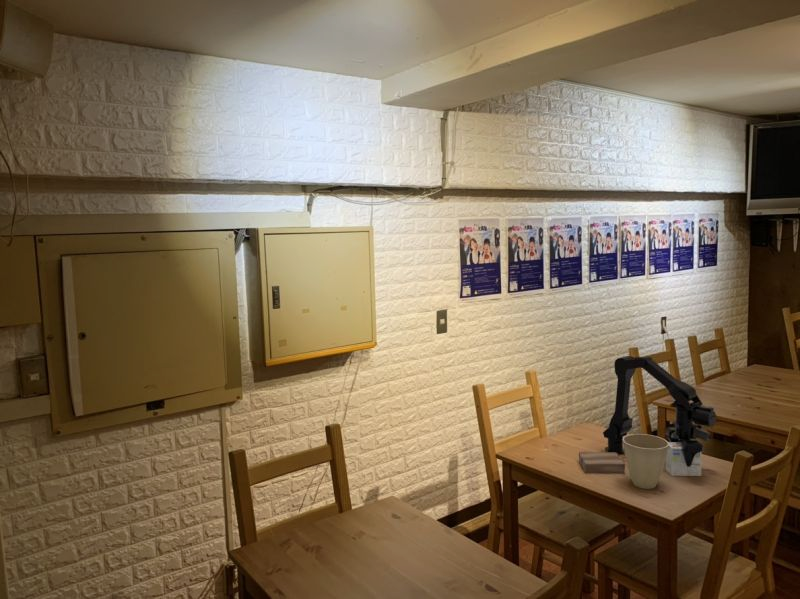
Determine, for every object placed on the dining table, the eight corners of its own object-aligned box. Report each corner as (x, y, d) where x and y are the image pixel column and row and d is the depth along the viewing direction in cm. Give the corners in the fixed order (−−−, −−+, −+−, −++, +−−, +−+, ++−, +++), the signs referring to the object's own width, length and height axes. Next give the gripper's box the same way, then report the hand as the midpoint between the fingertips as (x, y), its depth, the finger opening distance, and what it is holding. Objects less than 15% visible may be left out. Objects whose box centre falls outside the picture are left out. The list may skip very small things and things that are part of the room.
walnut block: (578, 462, 236) (579, 452, 235) (615, 462, 235) (615, 452, 234) (585, 474, 224) (585, 464, 223) (624, 474, 223) (624, 464, 222)
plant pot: (638, 496, 204) (639, 450, 202) (614, 478, 218) (614, 436, 217) (677, 490, 207) (678, 446, 205) (650, 474, 221) (651, 432, 220)
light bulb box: (694, 469, 224) (695, 441, 223) (702, 476, 218) (702, 447, 217) (664, 469, 226) (665, 441, 224) (671, 476, 219) (671, 447, 218)
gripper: (719, 428, 210) (717, 471, 212) (695, 412, 228) (694, 452, 230) (686, 429, 210) (685, 472, 212) (665, 412, 229) (664, 452, 231)
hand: (683, 461), depth 221 cm, fingers open, 9 cm apart
